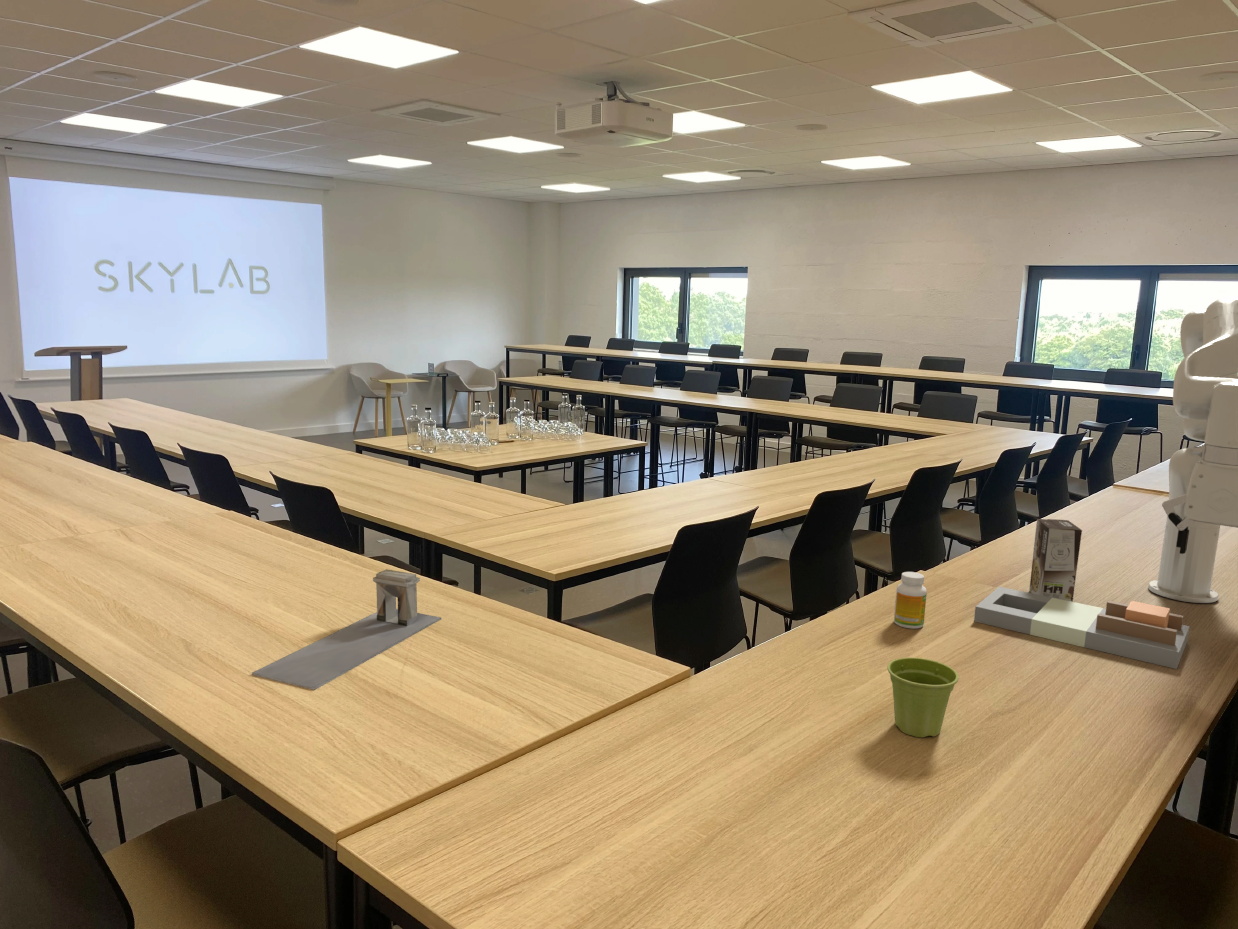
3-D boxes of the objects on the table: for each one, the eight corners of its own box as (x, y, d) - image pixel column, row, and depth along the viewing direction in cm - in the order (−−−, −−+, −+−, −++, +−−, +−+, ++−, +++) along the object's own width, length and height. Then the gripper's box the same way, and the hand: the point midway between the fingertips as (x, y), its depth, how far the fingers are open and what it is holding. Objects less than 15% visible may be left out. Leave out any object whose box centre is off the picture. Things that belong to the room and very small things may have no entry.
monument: (441, 621, 159) (440, 571, 158) (315, 692, 129) (312, 631, 127) (386, 610, 164) (385, 562, 162) (251, 677, 134) (248, 618, 132)
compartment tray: (997, 600, 177) (1000, 574, 176) (1187, 641, 157) (1191, 613, 156) (973, 621, 165) (976, 594, 164) (1176, 669, 144) (1181, 638, 143)
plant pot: (944, 751, 115) (951, 691, 114) (874, 732, 120) (879, 674, 119) (958, 724, 123) (964, 667, 122) (892, 707, 128) (897, 652, 127)
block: (1128, 621, 158) (1131, 600, 157) (1166, 629, 154) (1170, 608, 153) (1123, 630, 153) (1126, 609, 153) (1162, 639, 150) (1165, 617, 149)
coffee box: (1073, 607, 174) (1083, 530, 171) (1039, 604, 175) (1048, 527, 172) (1060, 593, 183) (1069, 519, 180) (1027, 590, 184) (1036, 517, 181)
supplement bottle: (925, 630, 159) (930, 580, 157) (895, 627, 160) (899, 577, 159) (921, 620, 164) (926, 571, 163) (892, 617, 165) (896, 569, 164)
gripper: (1165, 452, 145) (1151, 552, 148) (1295, 466, 135) (1277, 573, 138) (1171, 448, 151) (1157, 543, 154) (1296, 460, 140) (1278, 563, 143)
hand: (1214, 557), depth 146 cm, fingers open, 8 cm apart
